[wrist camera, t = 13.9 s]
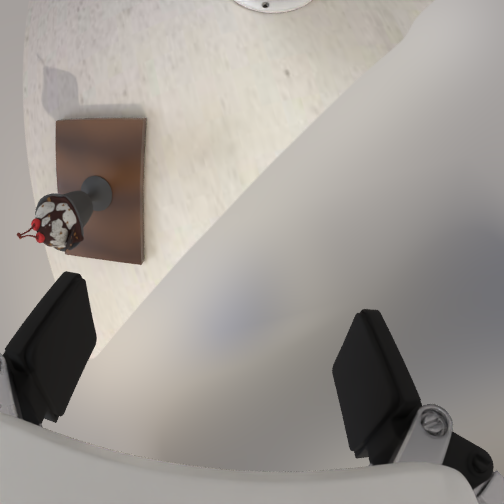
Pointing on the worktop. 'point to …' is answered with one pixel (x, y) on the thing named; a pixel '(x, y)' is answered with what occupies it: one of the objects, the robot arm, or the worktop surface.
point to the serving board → (115, 173)
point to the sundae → (69, 214)
